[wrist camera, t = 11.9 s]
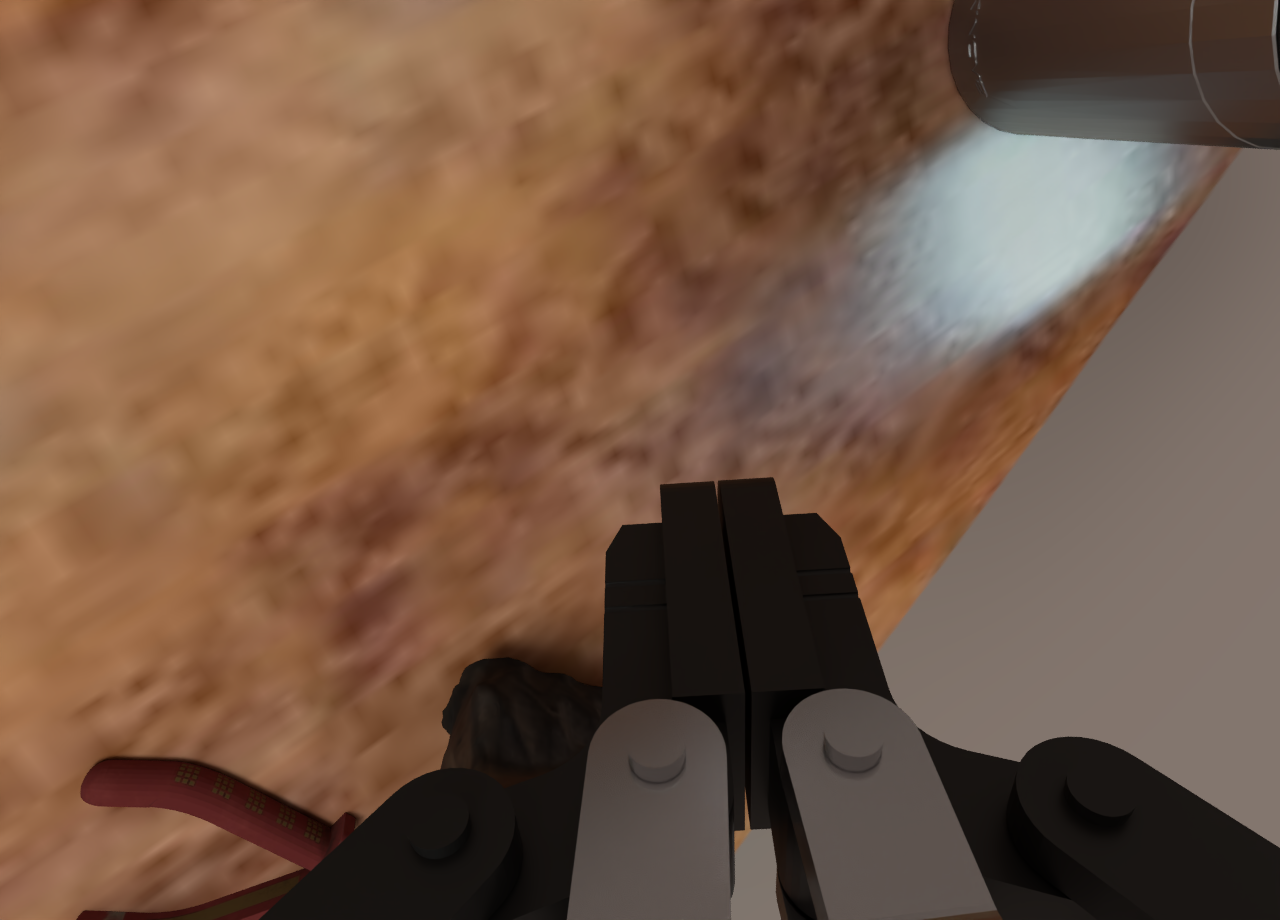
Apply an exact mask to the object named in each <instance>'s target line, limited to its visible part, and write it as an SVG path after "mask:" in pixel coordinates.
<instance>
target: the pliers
mask: <svg viewBox="0 0 1280 920" xmlns="http://www.w3.org/2000/svg"><path fill="white" fill-rule="evenodd" d="M81 798H82V799H83V801H85V802H86V803H88V804H91V805H95V806H107V807H157V808H165V809H170V810H176V811H179V812H183V813H187V814H190V815H193V816H195V817H198V818H201V819H203V820H206V821H208V822H210V823H212V824H214V825H216V826H218V827H221V828H223V829H225V830H227V831H229V832H231V833H233V834H235V835H237V836H239V837H241V838H243V839H245V840H247V841H250V842H252V843H254V844H256V845H258V846H260V847H262V848H264V849H266V850H268V851H270V852H272V853H274V854H277V855H279V856H281V857H283V858H285V859H287V860H289V861H291V862H293V863H295V864H297V865H299V866H301V867H304V869H301V870H299V871H296V872H293V873H290V874H287V875H284V876H282V877H279V878H276V879H273V880H270V881H267V882H264V883H262V884H259V885H256V886H253V887H250V888H247V889H245V890H242V891H239V892H236V893H233V894H230V895H228V896H225V897H222V898H219V899H216V900H213V901H210V902H208V903H205V904H202V905H198V906H195V907H191V908H187V909H183V910H177V911H171V912H161V913H137V912H112V911H84V912H82V913H81V914H80V915H79V916H78V918H77V919H76V920H259V919H260V918H261V917H262V916H263V915H264V914H265V913H266V912H267V911H268V910H269V909H270V908H272V907H273V906H274V905H275V904H276V903H277V902H278V901H279V900H280V899H281V898H282V897H283V896H284V895H285V894H287V893H288V892H289V891H290V890H291V889H292V888H293V887H294V886H295V885H296V884H297V883H298V882H299V881H300V880H302V879H303V878H304V877H305V876H306V875H307V874H308V873H309V872H310V871H311V870H312V869H313V868H314V867H316V866H317V865H318V864H319V863H320V862H321V861H322V860H323V859H324V858H325V857H326V856H327V855H328V854H329V853H331V852H332V851H333V850H334V849H335V848H336V847H337V846H338V845H339V844H340V843H341V842H342V841H343V840H345V839H346V838H347V837H348V836H349V835H350V834H351V833H352V832H353V831H354V827H355V817H353V816H351V815H349V814H347V813H344V814H343V815H342V816H341V817H340V818H339V819H338V820H337V821H336V822H335V824H334V825H333V826H332V827H331V828H329V827H327V826H325V825H323V824H321V823H319V822H317V821H315V820H313V819H311V818H309V817H307V816H305V815H303V814H301V813H299V812H297V811H295V810H293V809H291V808H289V807H287V806H285V805H283V804H282V803H280V802H278V801H276V800H274V799H272V798H270V797H268V796H266V795H264V794H262V793H260V792H258V791H256V790H254V789H252V788H250V787H248V786H246V785H244V784H242V783H240V782H238V781H236V780H234V779H232V778H230V777H228V776H226V775H223V774H221V773H219V772H216V771H213V770H210V769H208V768H205V767H201V766H198V765H195V764H190V763H185V762H180V761H153V760H118V759H112V760H106V761H103V762H100V763H98V764H97V765H95V766H94V767H93V768H92V769H90V770H89V772H88V773H87V775H86V776H85V778H84V780H83V783H82V785H81Z"/></svg>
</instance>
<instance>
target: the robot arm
mask: <svg viewBox="0 0 1280 920" xmlns="http://www.w3.org/2000/svg"><path fill="white" fill-rule="evenodd" d="M948 50H949V57H950V64H951V70H952V74H953V77H954V80H955V82H956V85H957V88H958V91H959V93H960V94H961V96H962V97H963V99H964V101H965V102H966V104H967V105H968V107H969V109H970V110H972V111H973V112H974V113H975V114H976V115H977V116H978V117H979V118H980V119H981V120H982V121H983V122H985V123H987V124H988V125H990V126H992V127H994V128H996V129H998V130H1000V131H1004V132H1008V133H1013V134H1019V135H1036V136H1054V137H1067V138H1082V139H1100V140H1117V141H1135V142H1152V143H1170V144H1187V145H1205V146H1222V147H1240V148H1258V149H1275V150H1280V0H955V1H954V5H953V10H952V15H951V20H950V24H949V47H948ZM660 495H661V512H662V523H649V524H633V525H622V527H621V528H620V530H619V532H618V533H617V535H616V537H615V538H614V540H613V541H612V543H611V545H610V546H609V548H608V550H607V551H606V568H605V614H604V647H603V687H602V710H601V717H600V720H599V723H598V726H597V728H596V730H595V732H594V734H593V736H592V737H591V739H590V740H589V742H588V743H587V744H586V746H585V747H584V748H583V749H582V750H581V751H580V752H579V753H578V754H577V755H576V756H574V757H573V758H572V759H571V760H569V761H568V762H567V763H565V764H563V765H561V766H560V767H558V768H556V769H554V770H552V771H550V772H547V773H545V774H543V775H540V776H537V777H534V778H532V779H529V780H526V781H523V782H520V783H518V784H515V785H512V786H509V787H507V788H503V786H502V785H501V784H500V783H499V782H497V781H496V780H495V779H494V778H492V777H490V776H489V775H487V774H485V773H483V772H480V771H477V770H473V769H467V768H447V769H441V770H436V771H433V772H430V773H427V774H424V775H422V776H420V777H418V778H415V779H414V780H412V781H410V782H409V783H407V784H406V785H404V786H403V787H401V788H400V789H399V790H398V791H396V792H395V793H394V794H393V795H392V796H391V797H390V798H389V799H387V800H386V801H385V802H384V803H383V804H382V805H381V806H380V807H379V808H378V809H377V810H376V811H375V812H374V813H372V814H371V815H370V816H369V817H368V818H367V819H366V820H365V821H364V822H363V823H362V824H361V825H360V826H358V827H357V828H356V829H355V830H354V831H353V832H352V833H351V834H350V835H349V836H348V837H347V838H346V839H345V840H343V841H342V842H341V843H340V844H339V845H338V846H337V847H336V848H335V849H334V850H333V851H332V852H331V853H329V854H328V855H327V856H326V857H325V858H324V859H323V860H322V861H321V862H320V863H319V864H318V865H317V866H316V867H314V868H313V869H312V870H311V871H310V872H309V873H308V874H307V875H306V876H305V877H304V878H303V879H302V880H300V881H299V882H298V883H297V884H296V885H295V886H294V887H293V888H292V889H291V890H290V891H289V892H288V893H287V894H285V895H284V896H283V897H282V898H281V899H280V900H279V901H278V902H277V903H276V904H275V905H274V906H273V907H272V908H270V909H269V910H268V911H267V912H266V913H265V914H264V915H263V916H262V917H261V918H260V919H259V920H731V901H730V900H731V897H732V895H733V890H734V884H735V864H734V863H735V861H734V831H740V830H745V791H746V799H747V806H748V814H749V822H750V829H770V828H771V830H772V836H773V843H774V850H775V856H776V863H777V877H776V896H777V903H778V907H779V911H780V916H781V920H1280V848H1279V847H1277V846H1276V845H1274V844H1273V843H1271V842H1269V841H1268V840H1266V839H1265V838H1263V837H1262V836H1260V835H1258V834H1257V833H1255V832H1254V831H1252V830H1250V829H1249V828H1247V827H1246V826H1244V825H1242V824H1241V823H1239V822H1238V821H1236V820H1235V819H1233V818H1231V817H1230V816H1228V815H1227V814H1225V813H1223V812H1222V811H1220V810H1219V809H1217V808H1215V807H1214V806H1212V805H1211V804H1209V803H1208V802H1206V801H1204V800H1203V799H1201V798H1200V797H1198V796H1197V795H1195V794H1193V793H1192V792H1190V791H1189V790H1187V789H1186V788H1184V787H1182V786H1181V785H1179V784H1178V783H1176V782H1174V781H1173V780H1171V779H1170V778H1168V777H1167V776H1165V775H1163V774H1162V773H1160V772H1159V771H1157V770H1155V769H1154V768H1152V767H1151V766H1149V765H1148V764H1146V763H1144V762H1143V761H1141V760H1140V759H1138V758H1136V757H1135V756H1133V755H1131V754H1129V753H1128V752H1126V751H1124V750H1122V749H1120V748H1118V747H1115V746H1113V745H1111V744H1108V743H1105V742H1101V741H1098V740H1094V739H1089V738H1082V737H1060V738H1054V739H1050V740H1046V741H1044V742H1042V743H1040V744H1038V745H1036V746H1034V747H1033V748H1032V749H1030V750H1029V751H1028V752H1027V753H1026V755H1025V756H1024V757H1023V758H1022V760H1021V762H1017V761H1012V760H1007V759H1003V758H999V757H994V756H990V755H985V754H981V753H976V752H971V751H967V750H964V749H960V748H957V747H953V746H951V745H948V744H946V743H943V742H941V741H939V740H937V739H935V738H933V737H931V736H930V735H928V734H926V733H925V732H924V731H922V730H921V729H919V728H918V727H917V726H916V725H915V724H914V722H913V721H912V720H911V719H910V717H909V716H908V715H907V714H906V713H905V712H904V711H902V710H901V709H900V708H899V707H898V706H897V705H896V703H895V701H894V700H893V698H892V695H891V693H890V691H889V688H888V685H887V682H886V678H885V675H884V672H883V669H882V666H881V663H880V660H879V656H878V653H877V650H876V647H875V644H874V641H873V638H872V634H871V631H870V628H869V625H868V622H867V619H866V616H865V612H864V609H863V606H862V603H861V600H860V598H858V590H857V587H856V584H855V581H854V578H853V575H852V573H851V572H850V565H849V562H848V559H847V556H846V553H845V550H844V546H843V543H842V540H841V537H840V536H839V535H838V534H837V533H836V532H835V531H834V530H833V529H832V528H831V527H830V526H829V525H828V524H827V523H826V522H825V521H824V520H823V519H822V518H821V517H820V516H819V515H818V514H817V513H807V514H791V515H783V513H782V509H781V504H780V500H779V496H778V492H777V488H776V484H775V481H774V478H773V477H769V478H753V479H737V480H721V481H718V503H717V496H716V489H715V484H714V481H709V482H693V483H677V484H661V485H660Z"/></svg>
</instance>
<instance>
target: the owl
mask: <svg viewBox="0 0 1280 920" xmlns="http://www.w3.org/2000/svg"><path fill="white" fill-rule="evenodd" d="M601 710H602V687H597V686H590V685H585V684H583V683H580V682H577V681H576V680H575V679H573V678H572V677H570V676H568V675H566V674H560V673H543V672H540V671H537V670H535V669H534V668H532V667H531V666H530V665H528V664H526V663H525V662H522V661H519V660H516V659H512V658H508V657H507V658H496V659H483V660H480V661H477V662H475V663H473V664H471V665H469V666H468V667H466V668H465V670H464V671H463V673H462V676H461V679H460V682H459V684H458V685H456V686H455V688H454V689H453V692H452V696H451V698H450V701H449V703H448V705H447V707H446V708H445V709H444V710H443V719H442V726H443V728H444V729H445V730H447V732H448V733H449V734H450V739H449V743H448V747H447V750H446V752H445V754H444V757H443V761H442V765H441V769H447V768H467V769H473V770H477V771H480V772H483V773H485V774H487V775H489V776H490V777H492V778H494V779H495V780H496V781H497V782H499V783H500V784H501V785H502V786H503V788H507V787H509V786H512V785H515V784H518V783H520V782H523V781H526V780H529V779H532V778H534V777H537V776H540V775H543V774H545V773H547V772H550V771H552V770H554V769H556V768H558V767H560V766H561V765H563V764H565V763H567V762H568V761H569V760H571V759H572V758H573V757H574V756H576V755H577V754H578V753H579V752H580V751H581V750H582V749H583V748H584V747H585V746H586V744H587V743H588V742H589V740H590V739H591V737H592V736H593V734H594V732H595V730H596V728H597V726H598V723H599V720H600V717H601ZM441 769H440V770H441Z"/></svg>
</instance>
